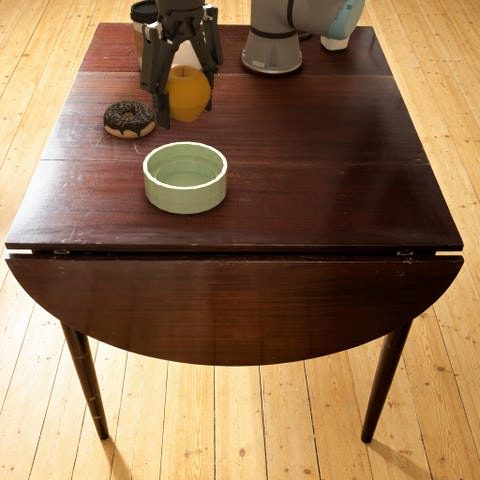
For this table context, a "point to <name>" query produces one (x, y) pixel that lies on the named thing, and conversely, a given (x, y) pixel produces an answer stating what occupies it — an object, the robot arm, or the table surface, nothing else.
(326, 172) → the table surface
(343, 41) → the cup
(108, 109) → the donut
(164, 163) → the serving bowl
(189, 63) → the mug
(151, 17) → the coffee cup
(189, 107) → the apple
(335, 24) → the robot arm
